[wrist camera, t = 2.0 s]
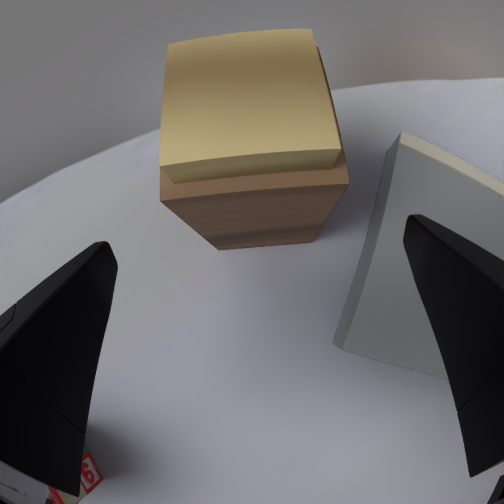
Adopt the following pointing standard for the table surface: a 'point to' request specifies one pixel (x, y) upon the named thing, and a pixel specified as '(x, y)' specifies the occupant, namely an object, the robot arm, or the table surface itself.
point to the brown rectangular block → (250, 138)
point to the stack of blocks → (89, 481)
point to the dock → (394, 256)
